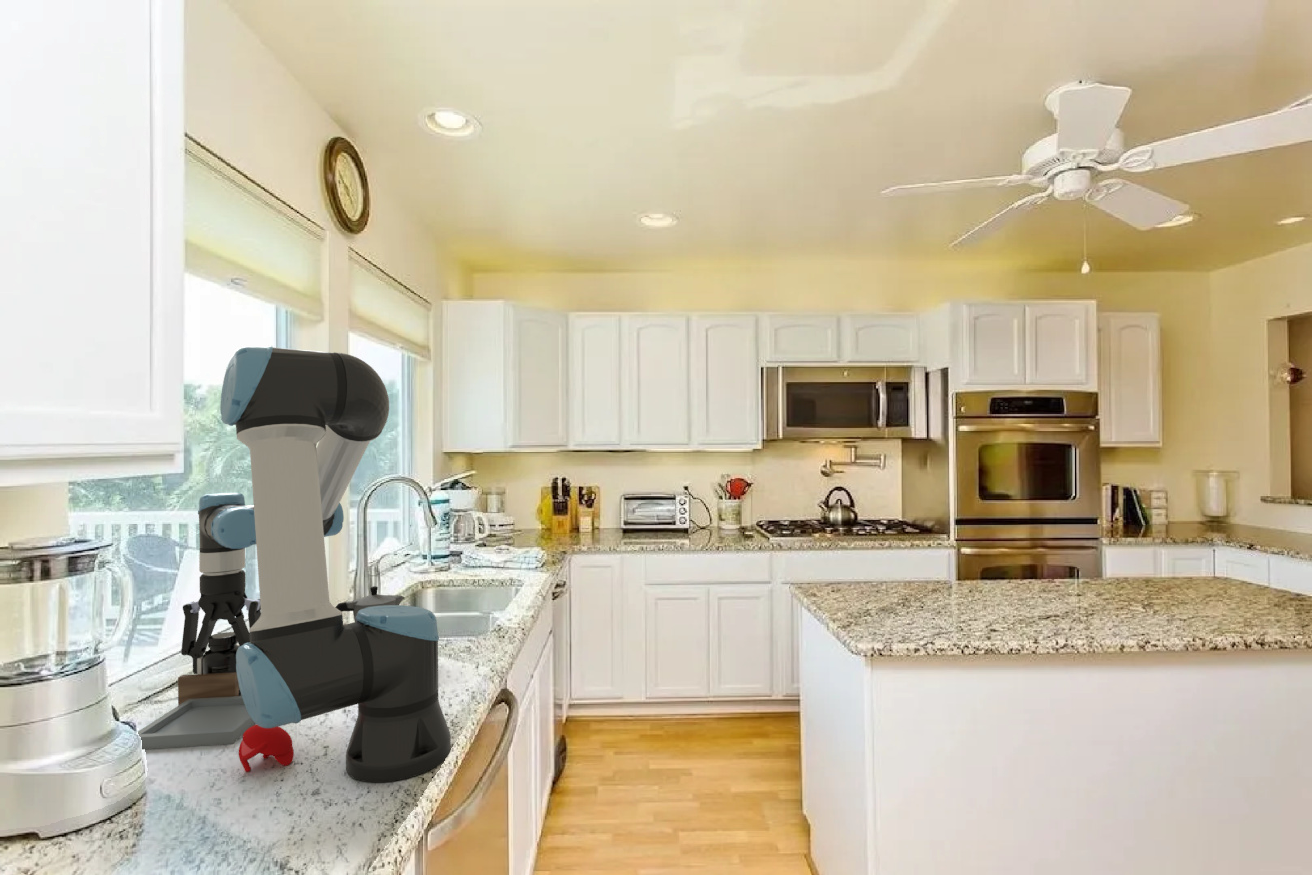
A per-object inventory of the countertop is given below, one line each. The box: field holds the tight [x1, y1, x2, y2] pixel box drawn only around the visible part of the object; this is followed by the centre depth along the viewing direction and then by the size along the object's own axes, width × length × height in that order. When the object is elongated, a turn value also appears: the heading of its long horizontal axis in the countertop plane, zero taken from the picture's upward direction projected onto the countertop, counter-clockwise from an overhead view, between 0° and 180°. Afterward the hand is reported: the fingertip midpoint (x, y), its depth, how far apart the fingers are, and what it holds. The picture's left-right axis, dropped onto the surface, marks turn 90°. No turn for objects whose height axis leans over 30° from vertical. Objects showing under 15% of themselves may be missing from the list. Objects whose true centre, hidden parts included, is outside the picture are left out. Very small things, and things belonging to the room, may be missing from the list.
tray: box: [137, 695, 257, 750], centre depth 112 cm, size 16×16×2 cm
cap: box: [238, 724, 295, 773], centre depth 98 cm, size 8×6×6 cm
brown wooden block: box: [177, 672, 239, 706], centre depth 125 cm, size 11×10×6 cm
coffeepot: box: [334, 585, 405, 622], centre depth 139 cm, size 15×9×18 cm, turn 134°
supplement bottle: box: [203, 631, 242, 696], centre depth 125 cm, size 7×7×12 cm
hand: (224, 688), depth 125 cm, fingers closed on supplement bottle, 7 cm apart
